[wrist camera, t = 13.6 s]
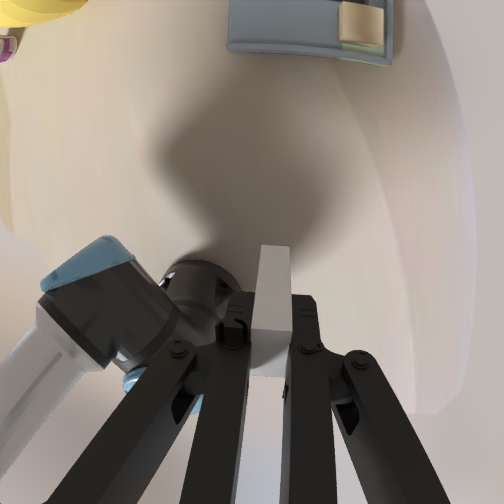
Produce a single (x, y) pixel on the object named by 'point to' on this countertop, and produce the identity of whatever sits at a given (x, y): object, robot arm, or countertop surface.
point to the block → (359, 25)
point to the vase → (35, 11)
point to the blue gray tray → (303, 29)
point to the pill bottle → (7, 48)
